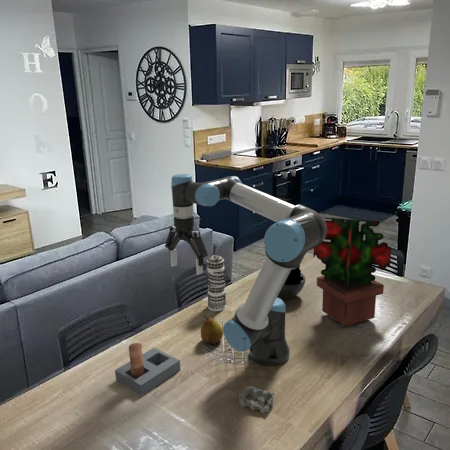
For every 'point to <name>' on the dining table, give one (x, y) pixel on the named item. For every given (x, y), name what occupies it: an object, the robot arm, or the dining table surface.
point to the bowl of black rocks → (292, 284)
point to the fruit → (211, 331)
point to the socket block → (149, 371)
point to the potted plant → (351, 270)
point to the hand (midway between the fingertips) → (186, 269)
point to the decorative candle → (216, 283)
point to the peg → (136, 360)
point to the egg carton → (261, 399)
